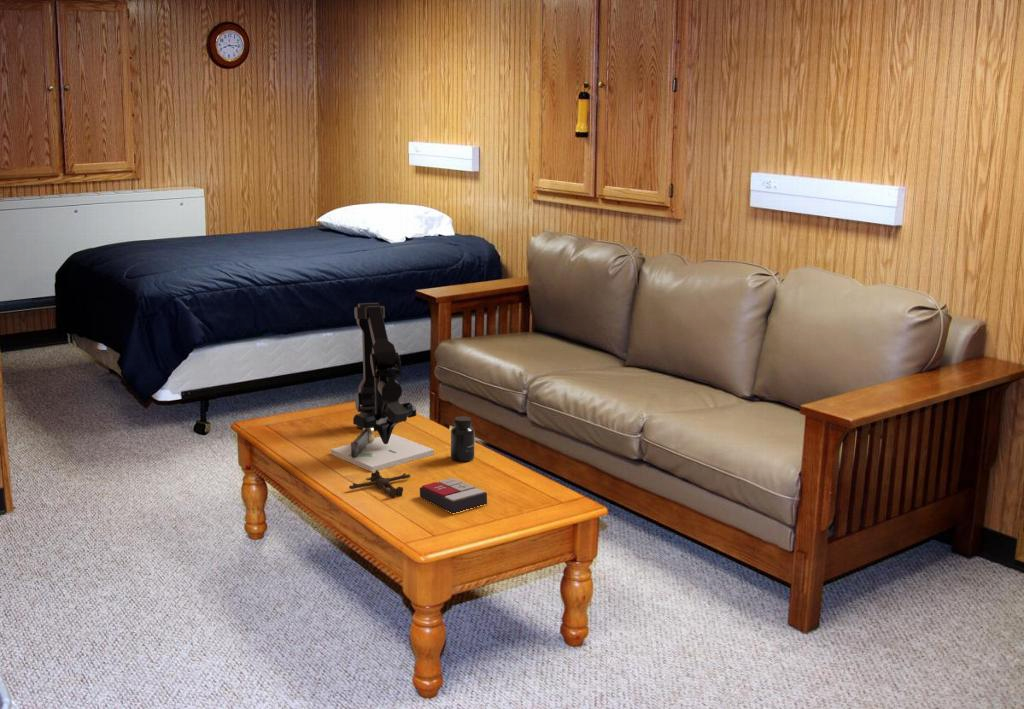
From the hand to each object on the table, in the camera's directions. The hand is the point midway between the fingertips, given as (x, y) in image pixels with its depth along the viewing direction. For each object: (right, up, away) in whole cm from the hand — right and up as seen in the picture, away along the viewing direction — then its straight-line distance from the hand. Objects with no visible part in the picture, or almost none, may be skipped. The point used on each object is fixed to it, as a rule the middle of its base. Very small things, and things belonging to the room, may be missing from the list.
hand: (385, 443), depth 312 cm
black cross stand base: (+3, -10, -26) cm, 28 cm away
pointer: (-7, -1, -1) cm, 7 cm away
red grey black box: (+21, -12, -34) cm, 42 cm away
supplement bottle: (+22, -4, -3) cm, 23 cm away
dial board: (-1, -3, 0) cm, 3 cm away
